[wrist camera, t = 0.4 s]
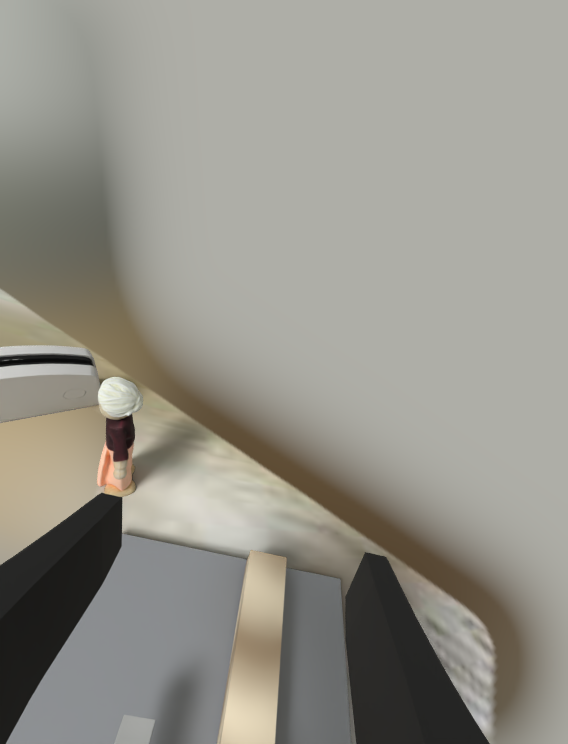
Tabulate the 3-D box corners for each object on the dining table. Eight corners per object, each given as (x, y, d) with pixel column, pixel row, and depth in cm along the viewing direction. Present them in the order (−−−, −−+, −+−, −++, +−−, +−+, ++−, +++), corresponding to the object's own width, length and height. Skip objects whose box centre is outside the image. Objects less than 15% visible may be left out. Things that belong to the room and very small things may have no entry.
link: (266, 947, 15) (289, 959, 13) (169, 936, 15) (175, 946, 13) (288, 572, 29) (301, 547, 27) (237, 561, 28) (246, 535, 26)
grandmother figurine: (93, 459, 35) (84, 357, 28) (133, 450, 37) (133, 354, 30) (102, 524, 30) (95, 420, 23) (148, 510, 32) (153, 411, 25)
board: (362, 1116, 14) (376, 1132, 13) (-164, 1074, 12) (-186, 1088, 11) (334, 586, 30) (340, 578, 30) (112, 541, 29) (111, 531, 28)
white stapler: (96, 379, 45) (98, 330, 37) (104, 410, 43) (108, 364, 36) (-85, 404, 35) (-130, 345, 28) (-85, 446, 33) (-133, 393, 26)
